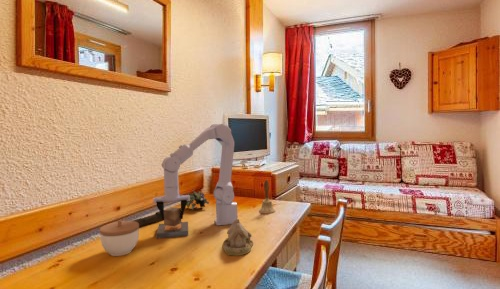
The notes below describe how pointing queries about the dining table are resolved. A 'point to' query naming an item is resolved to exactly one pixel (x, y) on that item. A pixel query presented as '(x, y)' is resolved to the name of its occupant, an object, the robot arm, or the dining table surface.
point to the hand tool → (149, 219)
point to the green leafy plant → (197, 200)
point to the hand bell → (267, 201)
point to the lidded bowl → (119, 237)
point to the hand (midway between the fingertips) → (172, 219)
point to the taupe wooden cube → (172, 216)
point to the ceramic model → (237, 240)
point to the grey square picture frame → (172, 230)
